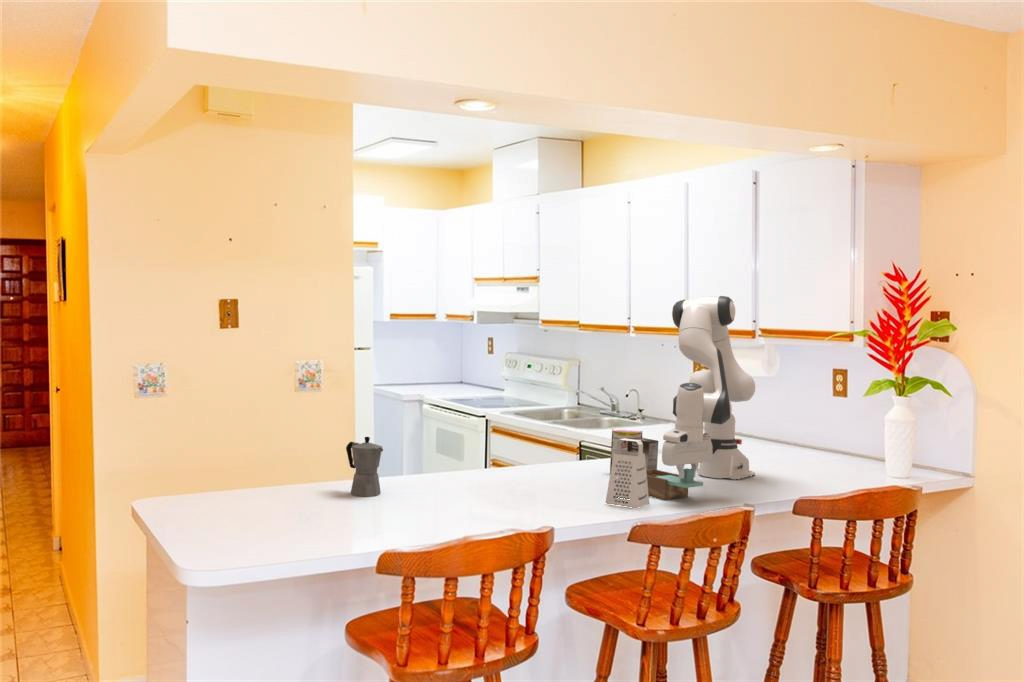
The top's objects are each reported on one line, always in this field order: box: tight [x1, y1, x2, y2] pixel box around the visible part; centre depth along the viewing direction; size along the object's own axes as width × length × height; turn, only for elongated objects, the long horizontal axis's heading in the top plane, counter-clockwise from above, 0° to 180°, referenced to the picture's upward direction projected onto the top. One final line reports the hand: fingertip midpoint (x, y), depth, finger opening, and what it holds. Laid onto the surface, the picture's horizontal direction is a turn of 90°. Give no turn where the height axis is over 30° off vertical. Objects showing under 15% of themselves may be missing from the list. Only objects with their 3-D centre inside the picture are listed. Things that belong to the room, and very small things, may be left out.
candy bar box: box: [609, 428, 643, 474], centre depth 331 cm, size 11×5×16 cm, turn 84°
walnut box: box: [646, 469, 689, 501], centre depth 299 cm, size 11×16×6 cm
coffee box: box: [627, 437, 659, 470], centre depth 312 cm, size 9×6×16 cm
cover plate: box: [657, 467, 704, 489], centre depth 292 cm, size 8×14×5 cm, turn 37°
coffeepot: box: [345, 436, 384, 498], centre depth 284 cm, size 15×9×18 cm, turn 54°
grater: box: [604, 438, 650, 509], centre depth 282 cm, size 10×10×20 cm
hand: (687, 477), depth 289 cm, fingers closed on cover plate, 3 cm apart
